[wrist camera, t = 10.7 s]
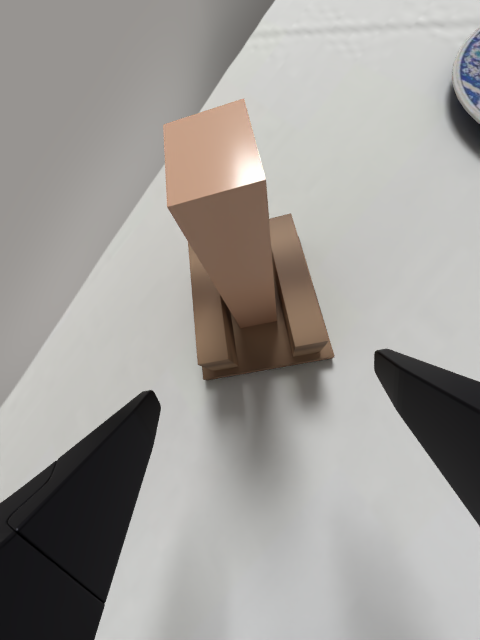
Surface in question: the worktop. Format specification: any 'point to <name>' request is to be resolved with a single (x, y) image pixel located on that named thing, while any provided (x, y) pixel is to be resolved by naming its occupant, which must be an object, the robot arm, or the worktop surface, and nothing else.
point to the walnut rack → (270, 338)
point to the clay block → (223, 206)
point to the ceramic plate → (468, 75)
